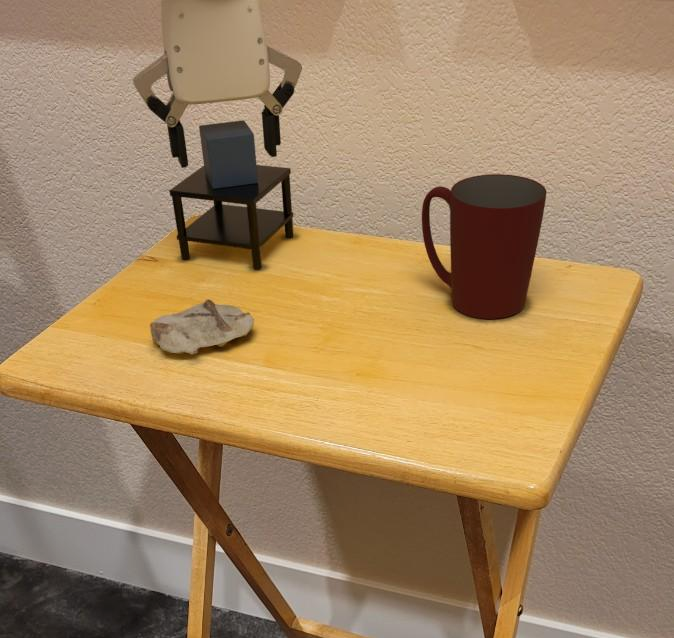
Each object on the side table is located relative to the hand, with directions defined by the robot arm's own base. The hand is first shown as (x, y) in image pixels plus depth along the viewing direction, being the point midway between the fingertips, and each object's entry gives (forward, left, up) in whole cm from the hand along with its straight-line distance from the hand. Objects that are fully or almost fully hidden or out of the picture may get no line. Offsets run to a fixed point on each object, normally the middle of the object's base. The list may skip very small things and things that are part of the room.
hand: (227, 158), depth 95 cm
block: (0, 0, -2) cm, 2 cm away
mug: (+21, -21, -10) cm, 31 cm away
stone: (-7, -20, -10) cm, 24 cm away
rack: (0, 0, -10) cm, 10 cm away
